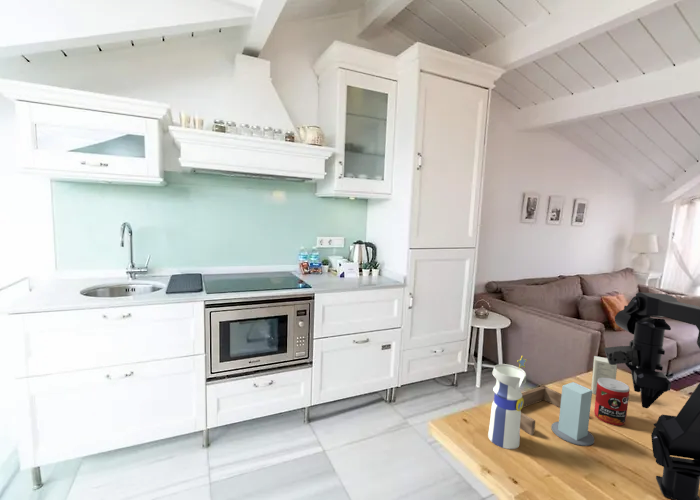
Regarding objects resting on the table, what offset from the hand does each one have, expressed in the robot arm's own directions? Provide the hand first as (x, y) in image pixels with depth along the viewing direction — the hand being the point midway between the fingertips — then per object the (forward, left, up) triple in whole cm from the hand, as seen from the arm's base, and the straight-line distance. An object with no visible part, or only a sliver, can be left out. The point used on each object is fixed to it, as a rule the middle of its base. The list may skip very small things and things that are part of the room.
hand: (640, 399), depth 89 cm
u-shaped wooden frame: (+2, +22, -13) cm, 26 cm away
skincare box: (+29, +4, -13) cm, 32 cm away
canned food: (+12, +4, -13) cm, 18 cm away
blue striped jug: (-16, +30, -13) cm, 37 cm away
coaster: (-3, +14, -13) cm, 19 cm away
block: (-3, +14, -13) cm, 19 cm away
